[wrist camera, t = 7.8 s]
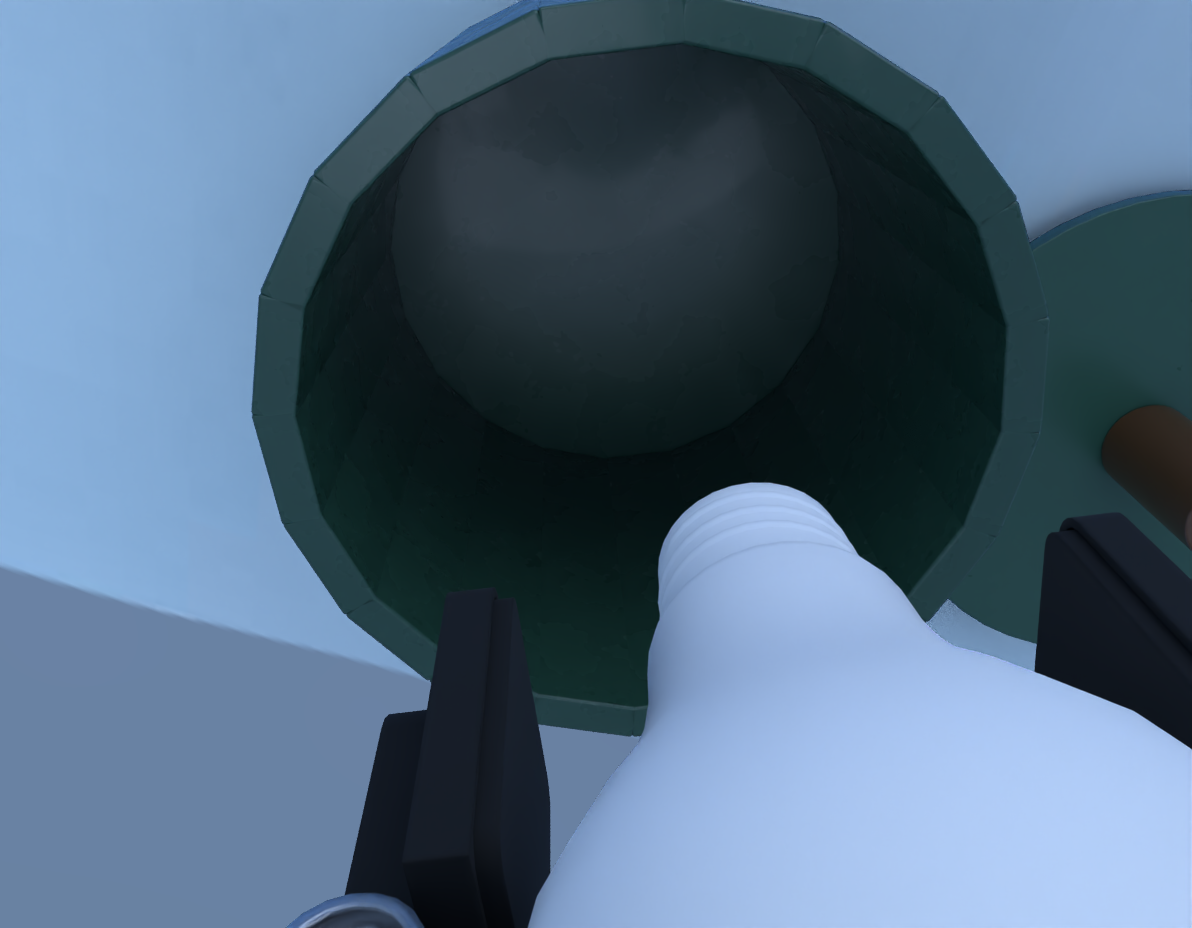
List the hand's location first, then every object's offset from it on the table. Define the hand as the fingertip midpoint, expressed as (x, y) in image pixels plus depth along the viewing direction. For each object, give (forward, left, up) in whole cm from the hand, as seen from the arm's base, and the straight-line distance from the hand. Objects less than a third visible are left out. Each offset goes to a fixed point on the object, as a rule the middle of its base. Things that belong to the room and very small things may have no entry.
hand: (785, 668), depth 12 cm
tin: (+1, 0, -21) cm, 21 cm away
